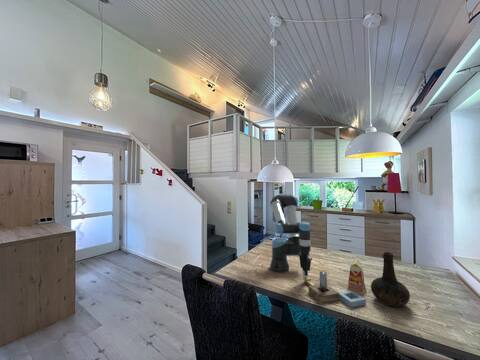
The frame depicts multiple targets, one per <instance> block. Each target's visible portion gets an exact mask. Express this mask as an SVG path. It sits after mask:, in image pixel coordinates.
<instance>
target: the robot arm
mask: <svg viewBox="0 0 480 360" xmlns="http://www.w3.org/2000/svg"><path fill="white" fill-rule="evenodd" d="M270 208H271V210H272V211H273V214H274V218H275V222H276V223H275V225H274V231H275V233H276V234H285V235H286V234H288V238H285V237H284V238H282V237H279V238H275V239H273V240H272V242H271V255H272V256H271V261H270V265H269V269H270V270H271V271H273V272H276V273H287V272H289V270H290V266H289V265H290V264H289V262H288V257H289V256H290V257H291V256H292V257H293V256H294V257H296V256H297V257H299V263H300V264H299V266H300V268H301V269H302V280H303V281H304V278H309V277H308V275H309V271H310V270H311V263H312V260H313V257H311V256H310V252H311V224H310V223H309V222H307V221H302V222H301V221H299V222H298V217H297V212H296V210H297V208H299V200H298V198H297V196H296V195H295V194H278V195H275V196H273V197H272V198H271V200H270ZM284 212H285V213H284ZM284 214H285V215H284Z"/></svg>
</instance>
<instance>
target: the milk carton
mask: <svg viewBox="0 0 480 360" xmlns="http://www.w3.org/2000/svg"><path fill="white" fill-rule="evenodd" d="M347 283H348V284H347V291H350V290H352V291H353V292H355V293H357V294H358V295H365V293H366V290H367V288H366V284H365V275H364V270H363V266H362V262H361V261H359V259H358V257H356V259H353V260H351V263H350V268H349V274H348V281H347Z"/></svg>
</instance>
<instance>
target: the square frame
mask: <svg viewBox="0 0 480 360" xmlns="http://www.w3.org/2000/svg"><path fill="white" fill-rule="evenodd" d="M338 293H339V300H340V301H342V302H343V303H345V304H346V305H347V306H348V307H350V308H356V307H361V306H366V304H367V299H366V298H365V297H363V296H361V294H358V293H355V292H353V291H352V290H345V291H341V292H338Z"/></svg>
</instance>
